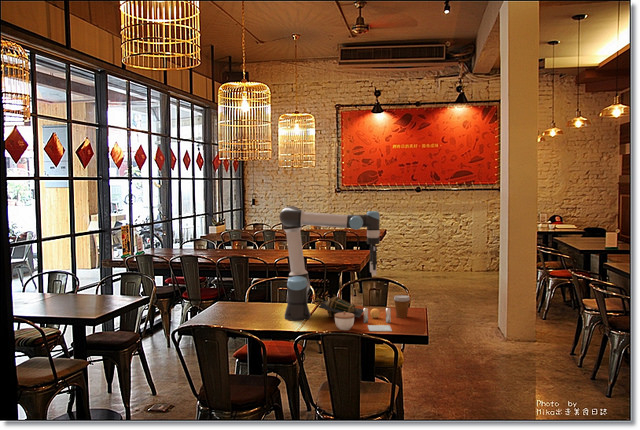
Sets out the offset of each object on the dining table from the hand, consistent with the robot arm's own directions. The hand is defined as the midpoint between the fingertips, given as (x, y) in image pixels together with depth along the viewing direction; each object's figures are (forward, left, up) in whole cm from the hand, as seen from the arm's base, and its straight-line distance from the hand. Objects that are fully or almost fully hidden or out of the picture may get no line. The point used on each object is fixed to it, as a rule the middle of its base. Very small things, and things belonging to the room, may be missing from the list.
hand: (373, 273), depth 342 cm
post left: (-6, -22, -24) cm, 33 cm away
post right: (+6, -22, -24) cm, 33 cm away
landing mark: (0, -35, -24) cm, 42 cm away
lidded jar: (-19, -35, -24) cm, 47 cm away
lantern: (-22, -9, -24) cm, 34 cm away
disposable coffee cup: (+16, -8, -24) cm, 30 cm away
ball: (0, -11, -21) cm, 24 cm away
